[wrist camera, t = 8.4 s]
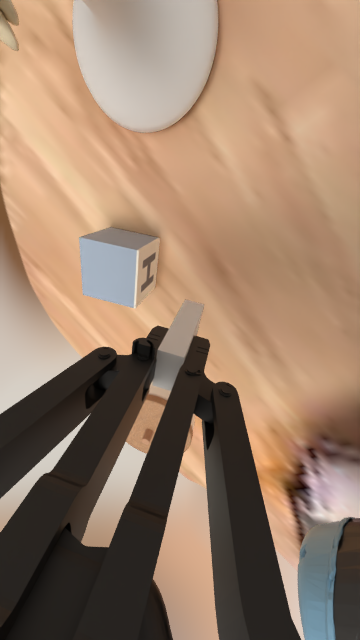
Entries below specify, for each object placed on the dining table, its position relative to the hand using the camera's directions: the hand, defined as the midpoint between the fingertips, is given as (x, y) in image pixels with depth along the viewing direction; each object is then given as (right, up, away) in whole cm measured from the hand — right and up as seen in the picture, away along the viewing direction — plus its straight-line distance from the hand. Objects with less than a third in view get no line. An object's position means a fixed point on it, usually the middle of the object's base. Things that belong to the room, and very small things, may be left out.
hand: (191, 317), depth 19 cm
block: (-4, +5, +7) cm, 10 cm away
